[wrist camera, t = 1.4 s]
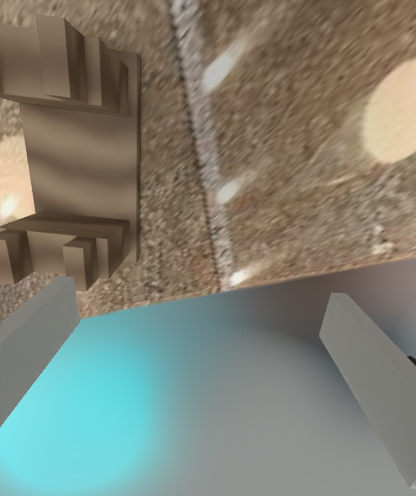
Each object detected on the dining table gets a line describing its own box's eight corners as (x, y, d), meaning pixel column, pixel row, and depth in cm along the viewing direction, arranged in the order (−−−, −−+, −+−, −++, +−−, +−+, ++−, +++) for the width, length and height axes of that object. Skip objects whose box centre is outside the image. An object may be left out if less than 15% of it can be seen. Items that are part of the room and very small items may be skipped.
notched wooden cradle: (19, 42, 28) (-113, -34, 17) (140, 57, 29) (94, -5, 17) (47, 249, 38) (-24, 292, 26) (138, 258, 38) (108, 305, 27)
